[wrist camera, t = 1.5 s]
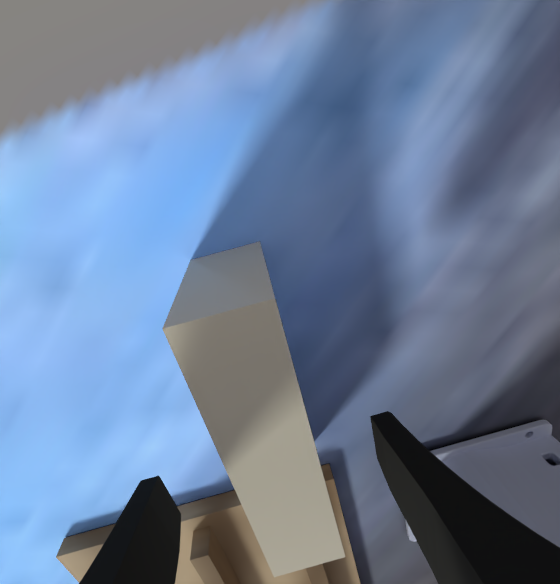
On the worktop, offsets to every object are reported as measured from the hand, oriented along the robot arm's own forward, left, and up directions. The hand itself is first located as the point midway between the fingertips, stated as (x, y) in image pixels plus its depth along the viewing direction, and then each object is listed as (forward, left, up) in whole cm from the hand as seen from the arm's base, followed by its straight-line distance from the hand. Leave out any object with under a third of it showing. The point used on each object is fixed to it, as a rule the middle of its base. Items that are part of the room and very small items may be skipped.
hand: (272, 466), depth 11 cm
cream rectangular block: (0, 0, -6) cm, 6 cm away
